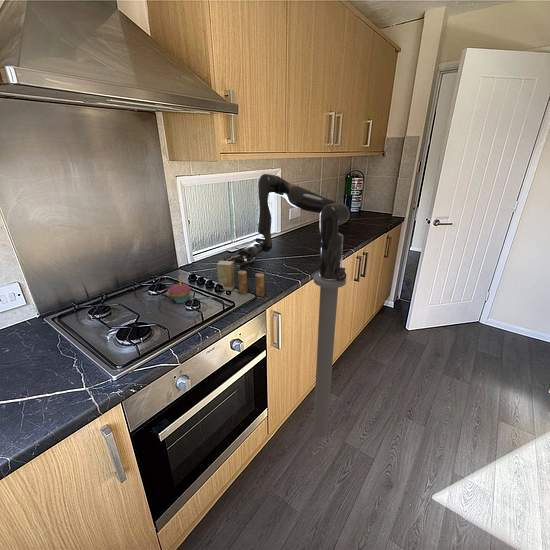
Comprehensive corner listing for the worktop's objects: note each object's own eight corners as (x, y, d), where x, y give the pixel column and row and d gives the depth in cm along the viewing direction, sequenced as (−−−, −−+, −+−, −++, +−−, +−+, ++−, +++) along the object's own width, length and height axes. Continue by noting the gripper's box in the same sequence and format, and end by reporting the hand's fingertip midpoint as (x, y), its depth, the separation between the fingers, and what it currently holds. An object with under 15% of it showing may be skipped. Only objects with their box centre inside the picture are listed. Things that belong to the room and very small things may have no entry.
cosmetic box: (218, 290, 127) (215, 263, 122) (221, 285, 130) (219, 260, 126) (232, 291, 126) (230, 264, 121) (235, 286, 129) (233, 260, 125)
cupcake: (196, 299, 119) (192, 272, 115) (179, 307, 113) (174, 279, 108) (182, 293, 124) (178, 267, 119) (165, 302, 118) (160, 274, 113)
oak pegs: (266, 293, 123) (265, 273, 120) (262, 296, 120) (261, 276, 117) (241, 289, 127) (240, 269, 124) (237, 292, 124) (236, 273, 121)
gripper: (235, 245, 144) (217, 256, 130) (261, 248, 139) (246, 260, 125) (236, 260, 147) (219, 271, 133) (262, 263, 142) (247, 276, 128)
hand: (232, 266), depth 129 cm, fingers open, 8 cm apart
